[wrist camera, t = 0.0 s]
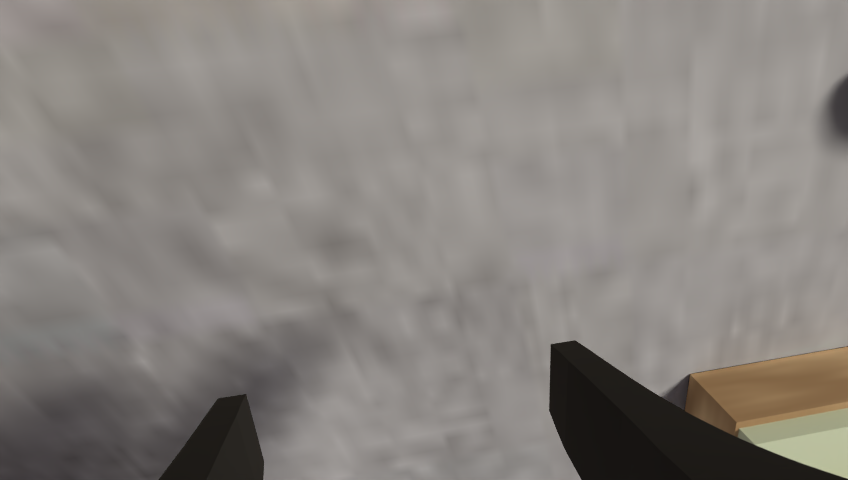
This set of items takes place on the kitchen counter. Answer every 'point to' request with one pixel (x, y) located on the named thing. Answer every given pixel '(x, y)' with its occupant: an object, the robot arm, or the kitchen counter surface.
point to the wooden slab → (770, 390)
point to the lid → (806, 440)
